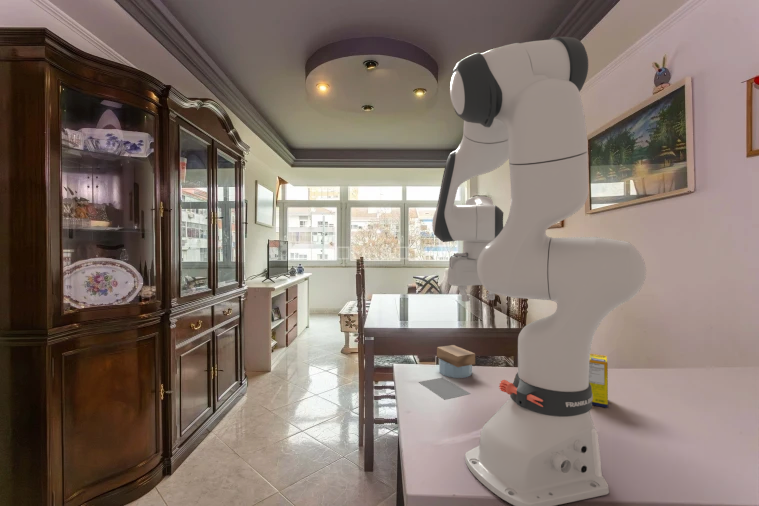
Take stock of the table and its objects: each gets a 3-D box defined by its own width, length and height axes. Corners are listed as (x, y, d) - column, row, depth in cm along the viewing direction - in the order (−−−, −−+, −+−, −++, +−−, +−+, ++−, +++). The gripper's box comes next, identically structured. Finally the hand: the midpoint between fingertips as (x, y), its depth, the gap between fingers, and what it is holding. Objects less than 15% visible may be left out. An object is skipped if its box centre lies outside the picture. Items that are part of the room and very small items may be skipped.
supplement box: (607, 399, 84) (607, 355, 84) (608, 408, 78) (608, 361, 78) (579, 393, 87) (579, 351, 87) (578, 402, 82) (578, 357, 82)
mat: (444, 403, 81) (444, 399, 81) (418, 385, 92) (418, 382, 92) (470, 397, 84) (470, 393, 84) (442, 380, 95) (442, 377, 95)
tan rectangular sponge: (457, 367, 94) (457, 356, 94) (436, 357, 103) (436, 347, 103) (475, 364, 96) (475, 353, 96) (453, 354, 105) (453, 344, 105)
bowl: (452, 383, 93) (452, 367, 93) (433, 372, 102) (433, 358, 102) (478, 378, 97) (478, 362, 97) (458, 368, 106) (458, 354, 106)
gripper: (457, 252, 91) (456, 303, 91) (512, 253, 100) (512, 300, 100) (443, 252, 97) (442, 301, 97) (496, 253, 106) (496, 297, 106)
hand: (478, 300), depth 98 cm, fingers open, 8 cm apart
